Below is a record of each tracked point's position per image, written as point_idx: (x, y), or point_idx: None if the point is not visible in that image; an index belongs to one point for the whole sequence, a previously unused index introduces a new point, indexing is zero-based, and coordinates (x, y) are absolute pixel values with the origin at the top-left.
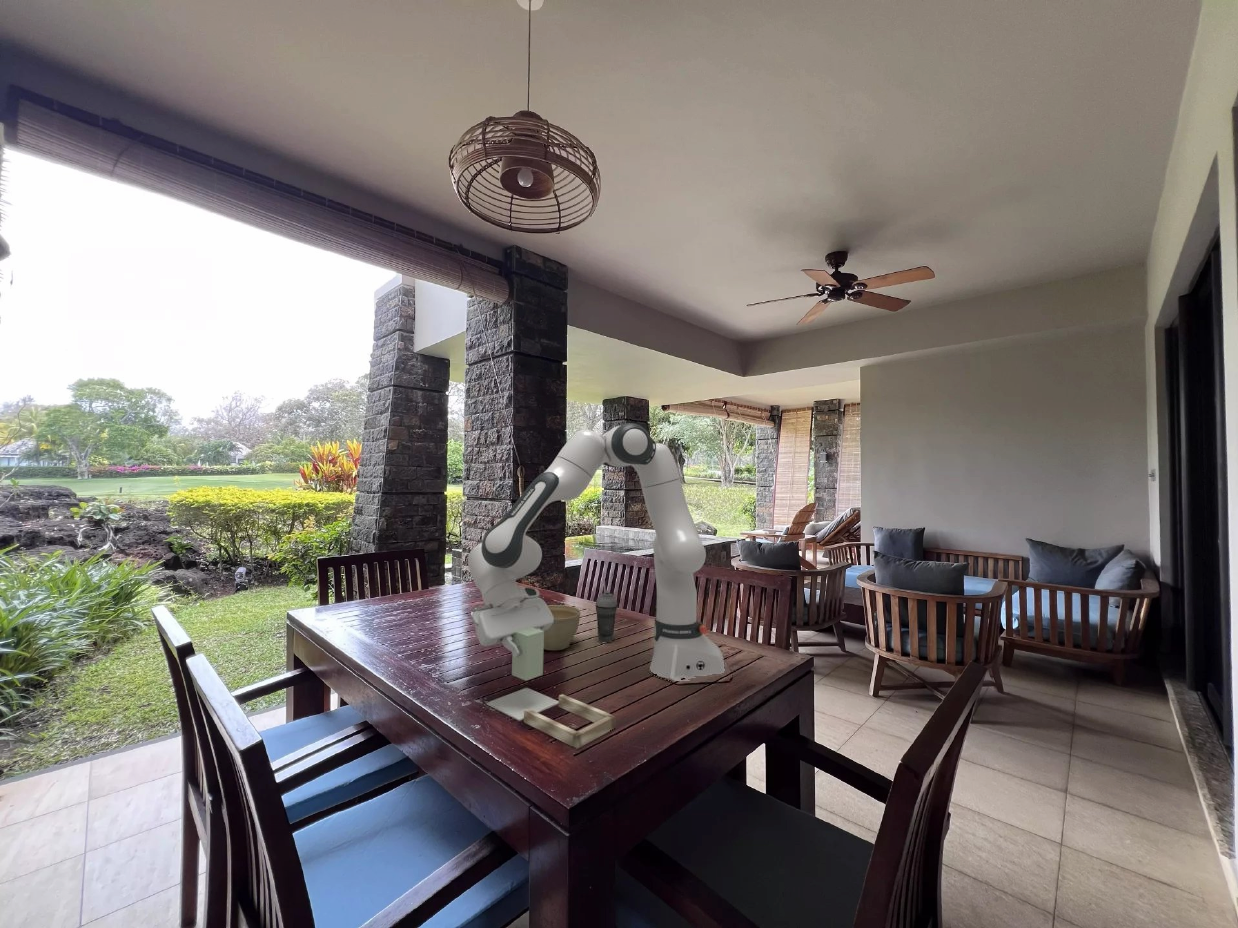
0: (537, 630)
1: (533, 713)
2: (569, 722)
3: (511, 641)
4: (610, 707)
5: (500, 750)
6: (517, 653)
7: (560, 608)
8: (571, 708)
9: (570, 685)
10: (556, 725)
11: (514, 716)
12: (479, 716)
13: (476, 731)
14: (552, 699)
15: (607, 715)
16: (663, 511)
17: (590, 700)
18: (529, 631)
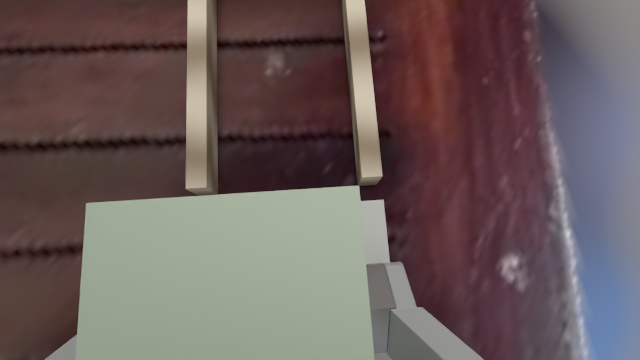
0: (122, 284)
1: (370, 134)
2: (269, 86)
3: (446, 355)
4: (102, 74)
5: (519, 93)
6: (400, 262)
7: None
8: (214, 127)
9: (45, 314)
10: (364, 22)
11: (383, 231)
12: (472, 328)
13: (528, 236)
14: None
15: None
16: None
17: (103, 156)
18: (228, 316)
